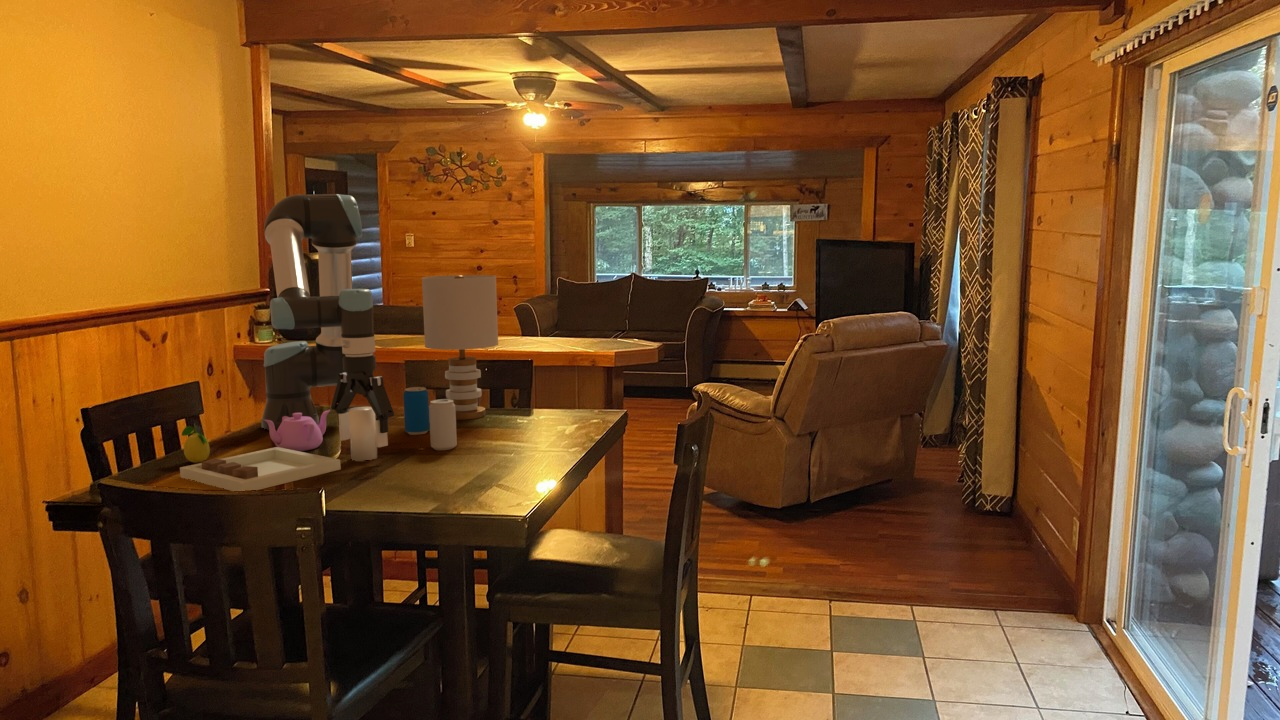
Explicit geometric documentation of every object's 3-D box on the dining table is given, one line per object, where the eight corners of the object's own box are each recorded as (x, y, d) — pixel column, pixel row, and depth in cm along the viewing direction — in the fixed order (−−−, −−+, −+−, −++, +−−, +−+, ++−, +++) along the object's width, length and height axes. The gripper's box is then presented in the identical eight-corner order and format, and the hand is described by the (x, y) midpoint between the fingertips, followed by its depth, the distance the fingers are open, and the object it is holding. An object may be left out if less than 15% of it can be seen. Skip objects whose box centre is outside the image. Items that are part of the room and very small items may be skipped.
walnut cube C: (233, 486, 203) (232, 469, 203) (244, 481, 207) (243, 466, 206) (247, 487, 202) (246, 470, 202) (258, 482, 206) (257, 466, 205)
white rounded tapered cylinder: (346, 459, 230) (343, 409, 228) (366, 454, 235) (363, 405, 233) (362, 462, 226) (359, 412, 225) (382, 457, 231) (380, 408, 229)
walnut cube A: (202, 477, 211) (201, 462, 210) (215, 474, 214) (214, 458, 213) (213, 479, 209) (212, 463, 209) (227, 475, 212) (225, 460, 212)
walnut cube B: (218, 480, 208) (217, 465, 207) (234, 477, 210) (233, 462, 210) (226, 483, 205) (225, 467, 205) (242, 480, 208) (240, 464, 208)
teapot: (265, 453, 237) (262, 418, 236) (287, 441, 251) (285, 408, 250) (312, 453, 237) (310, 418, 235) (332, 441, 250) (330, 407, 249)
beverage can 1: (433, 430, 262) (431, 386, 260) (425, 435, 255) (423, 390, 254) (409, 430, 263) (407, 386, 261) (401, 435, 256) (399, 390, 255)
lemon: (183, 463, 228) (180, 421, 226) (210, 460, 230) (207, 419, 229) (182, 469, 222) (179, 427, 220) (210, 466, 224) (207, 424, 223)
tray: (180, 480, 211) (179, 467, 211) (277, 459, 231) (277, 446, 230) (243, 497, 197) (242, 483, 197) (340, 472, 217) (340, 459, 216)
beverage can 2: (461, 446, 242) (459, 399, 240) (448, 451, 236) (446, 403, 234) (439, 444, 244) (437, 397, 243) (425, 450, 238) (423, 402, 237)
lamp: (431, 410, 292) (426, 274, 286) (501, 407, 294) (497, 273, 288) (424, 423, 271) (417, 277, 265) (499, 421, 273) (494, 276, 268)
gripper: (312, 353, 231) (317, 439, 234) (380, 359, 217) (385, 452, 220) (338, 349, 237) (343, 434, 240) (406, 356, 223) (410, 446, 226)
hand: (363, 443), depth 230 cm, fingers open, 13 cm apart
